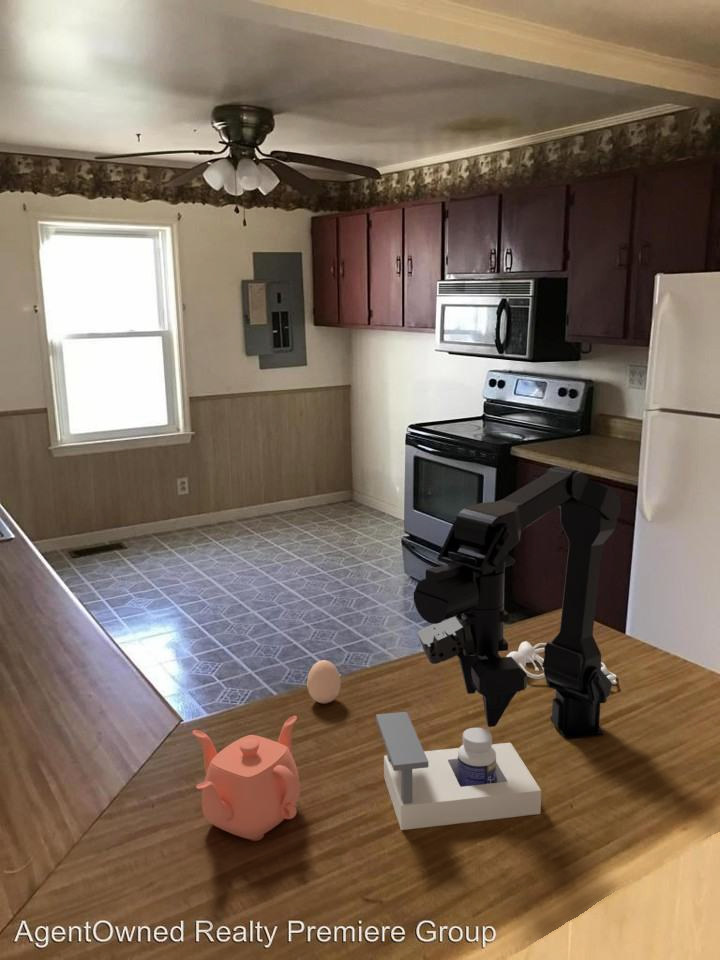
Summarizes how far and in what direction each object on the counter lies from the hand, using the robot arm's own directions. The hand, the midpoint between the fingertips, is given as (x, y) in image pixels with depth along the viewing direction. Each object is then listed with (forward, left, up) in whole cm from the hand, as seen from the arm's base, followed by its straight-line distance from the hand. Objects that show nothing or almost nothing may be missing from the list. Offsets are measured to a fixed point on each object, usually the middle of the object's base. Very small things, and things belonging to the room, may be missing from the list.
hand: (480, 709), depth 108 cm
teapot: (+33, 0, -13) cm, 35 cm away
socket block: (+4, +1, -12) cm, 13 cm away
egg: (+19, -29, -13) cm, 37 cm away
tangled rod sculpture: (-26, -33, -13) cm, 44 cm away
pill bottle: (+1, +1, -13) cm, 13 cm away
